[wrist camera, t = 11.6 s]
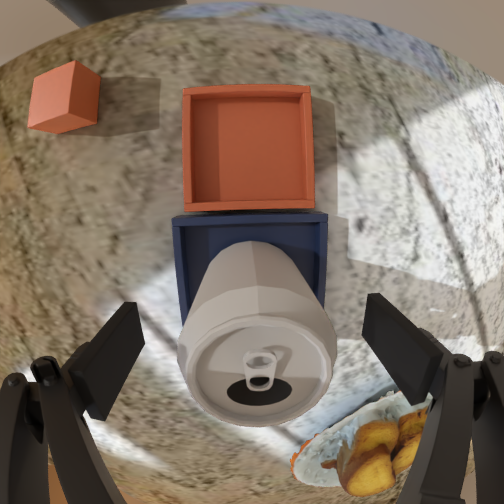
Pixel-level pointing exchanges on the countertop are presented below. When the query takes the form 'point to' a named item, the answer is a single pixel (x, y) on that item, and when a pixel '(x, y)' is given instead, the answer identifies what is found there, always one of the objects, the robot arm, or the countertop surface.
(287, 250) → the navy tray
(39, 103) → the block
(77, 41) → the countertop surface
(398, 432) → the food on plate
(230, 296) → the can
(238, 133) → the terracotta tray
